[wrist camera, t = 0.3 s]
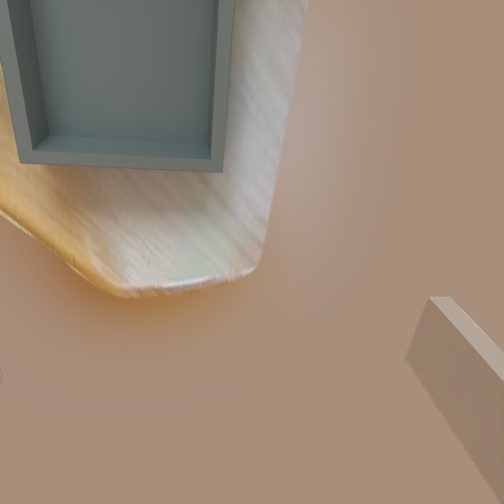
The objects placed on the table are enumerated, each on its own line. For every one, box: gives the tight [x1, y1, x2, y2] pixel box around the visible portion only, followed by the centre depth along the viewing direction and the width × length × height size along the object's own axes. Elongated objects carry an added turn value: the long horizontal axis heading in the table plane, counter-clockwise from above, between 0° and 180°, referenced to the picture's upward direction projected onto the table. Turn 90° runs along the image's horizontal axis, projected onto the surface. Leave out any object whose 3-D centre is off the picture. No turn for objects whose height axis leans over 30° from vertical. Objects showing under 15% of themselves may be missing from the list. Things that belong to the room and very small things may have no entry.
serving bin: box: [0, 0, 234, 172], centre depth 28 cm, size 20×15×6 cm
